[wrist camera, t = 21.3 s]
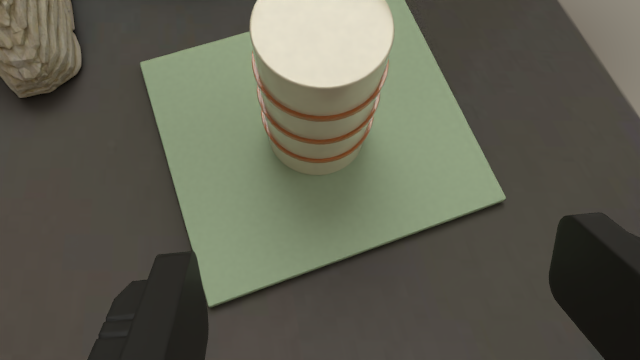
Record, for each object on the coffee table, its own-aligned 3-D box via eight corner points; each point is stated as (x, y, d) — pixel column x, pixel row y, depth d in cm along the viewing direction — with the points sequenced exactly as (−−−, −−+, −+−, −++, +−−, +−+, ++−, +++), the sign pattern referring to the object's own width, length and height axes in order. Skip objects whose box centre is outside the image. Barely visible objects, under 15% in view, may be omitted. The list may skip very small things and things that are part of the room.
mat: (397, -6, 33) (399, -12, 33) (502, 201, 29) (506, 198, 28) (142, 67, 31) (139, 62, 30) (210, 307, 26) (208, 307, 25)
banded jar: (346, 72, 30) (364, -52, 21) (384, 158, 29) (422, 65, 19) (251, 101, 30) (226, -15, 20) (283, 192, 28) (273, 111, 18)
